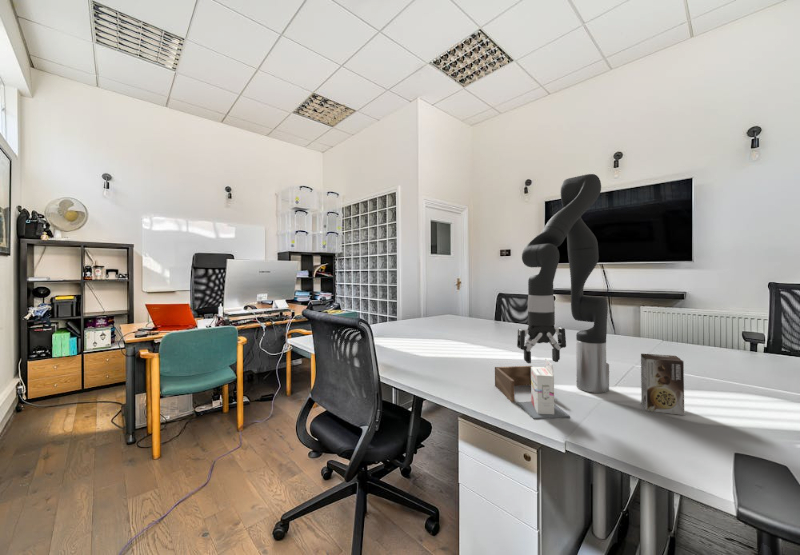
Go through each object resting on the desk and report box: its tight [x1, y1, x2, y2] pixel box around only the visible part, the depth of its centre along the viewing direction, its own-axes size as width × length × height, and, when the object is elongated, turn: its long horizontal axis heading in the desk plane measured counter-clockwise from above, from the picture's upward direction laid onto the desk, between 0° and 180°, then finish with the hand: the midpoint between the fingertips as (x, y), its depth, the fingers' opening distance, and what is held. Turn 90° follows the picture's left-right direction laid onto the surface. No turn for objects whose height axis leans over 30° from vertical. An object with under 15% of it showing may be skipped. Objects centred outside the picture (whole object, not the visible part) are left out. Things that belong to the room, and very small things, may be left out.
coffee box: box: [640, 353, 685, 416], centre depth 97 cm, size 9×6×16 cm
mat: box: [516, 400, 571, 420], centre depth 98 cm, size 11×11×1 cm
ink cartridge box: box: [530, 357, 555, 415], centre depth 98 cm, size 9×5×15 cm, turn 170°
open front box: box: [494, 365, 533, 403], centre depth 112 cm, size 14×15×7 cm
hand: (541, 362), depth 98 cm, fingers open, 8 cm apart
